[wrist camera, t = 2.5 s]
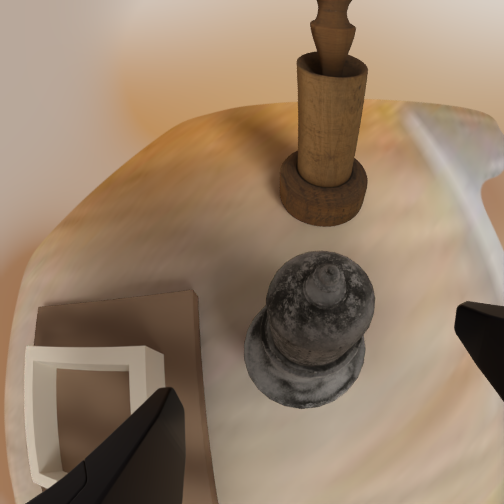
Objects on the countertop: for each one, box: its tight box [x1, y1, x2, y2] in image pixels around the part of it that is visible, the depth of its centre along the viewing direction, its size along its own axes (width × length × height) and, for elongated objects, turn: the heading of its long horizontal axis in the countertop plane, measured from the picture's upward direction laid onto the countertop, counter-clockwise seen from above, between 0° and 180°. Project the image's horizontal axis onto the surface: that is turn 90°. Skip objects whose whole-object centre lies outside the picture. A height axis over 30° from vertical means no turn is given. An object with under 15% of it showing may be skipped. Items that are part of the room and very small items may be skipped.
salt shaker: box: [244, 251, 375, 409], centre depth 11 cm, size 6×6×12 cm
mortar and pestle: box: [280, 0, 368, 226], centre depth 14 cm, size 7×6×18 cm
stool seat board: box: [24, 290, 218, 504], centre depth 12 cm, size 20×14×4 cm
